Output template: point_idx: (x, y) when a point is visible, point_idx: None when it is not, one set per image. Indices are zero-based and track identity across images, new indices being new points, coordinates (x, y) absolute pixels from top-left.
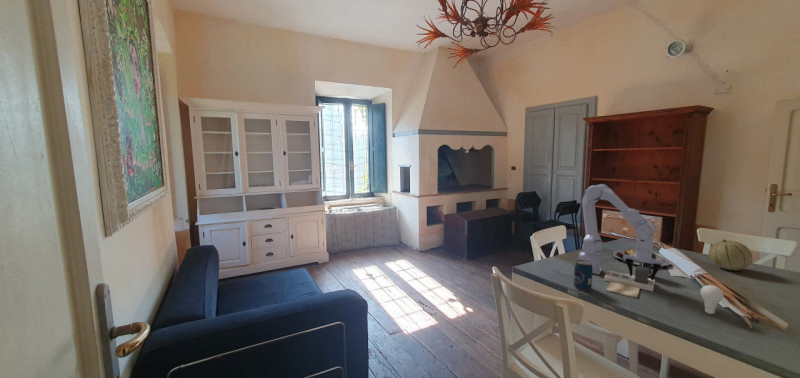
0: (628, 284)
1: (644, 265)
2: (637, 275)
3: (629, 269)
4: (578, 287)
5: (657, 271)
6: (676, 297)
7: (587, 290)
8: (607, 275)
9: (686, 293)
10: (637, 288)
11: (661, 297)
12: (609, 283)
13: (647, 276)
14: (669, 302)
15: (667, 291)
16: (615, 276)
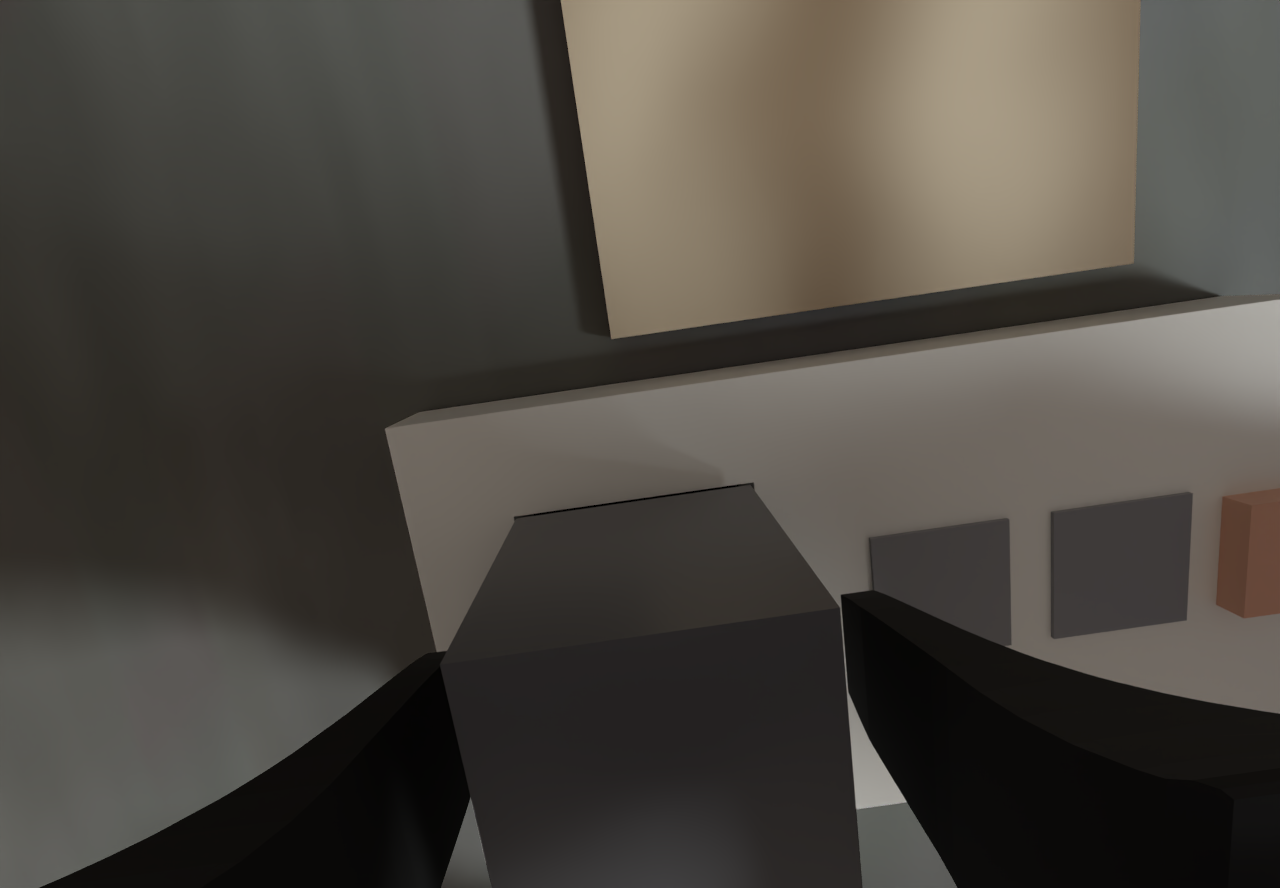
0: (814, 359)
1: None
2: (725, 538)
3: (999, 648)
4: None
5: (142, 846)
6: (69, 427)
7: None
8: (1267, 409)
9: (41, 731)
10: (638, 276)
11: (229, 217)
12: (1129, 120)
13: (485, 583)
14: (51, 57)
15: (258, 601)
16: (1112, 477)
